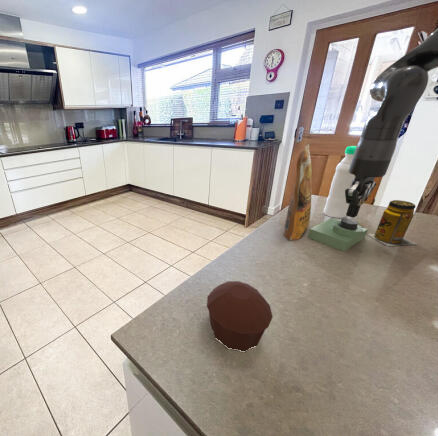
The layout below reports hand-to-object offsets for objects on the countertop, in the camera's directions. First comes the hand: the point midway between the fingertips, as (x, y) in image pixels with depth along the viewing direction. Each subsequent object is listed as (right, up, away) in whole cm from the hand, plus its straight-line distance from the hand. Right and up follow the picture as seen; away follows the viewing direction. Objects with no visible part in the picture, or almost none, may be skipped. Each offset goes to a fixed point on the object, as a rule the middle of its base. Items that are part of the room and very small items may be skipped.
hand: (351, 216), depth 69 cm
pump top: (0, -3, +2) cm, 4 cm away
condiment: (+14, -7, +3) cm, 16 cm away
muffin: (-43, -23, -23) cm, 54 cm away
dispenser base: (0, -7, +5) cm, 9 cm away
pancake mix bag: (-10, -5, +11) cm, 16 cm away
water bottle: (+11, +1, +20) cm, 23 cm away
